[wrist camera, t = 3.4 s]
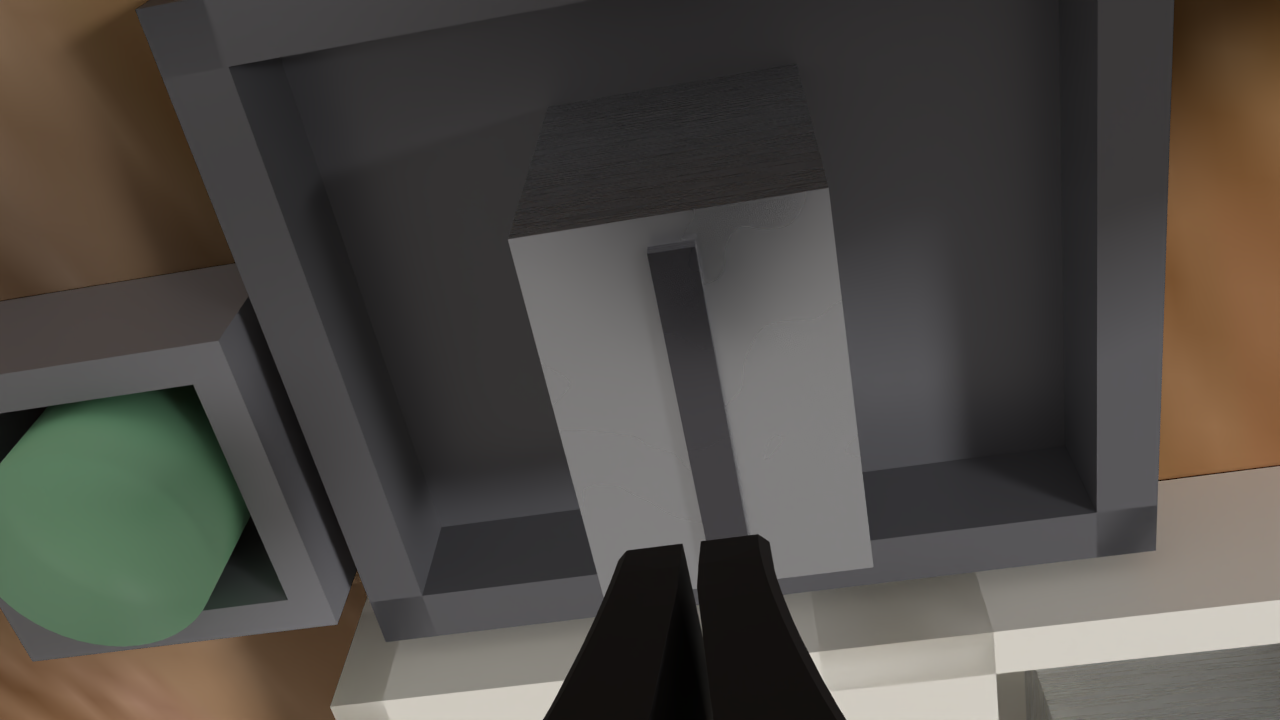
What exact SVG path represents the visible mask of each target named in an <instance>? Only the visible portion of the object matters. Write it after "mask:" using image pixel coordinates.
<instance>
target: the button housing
mask: <svg viewBox="0 0 1280 720" xmlns="http://www.w3.org/2000/svg"><path fill="white" fill-rule="evenodd" d="M187 385H194V388H195V390H196V392H197V394H198V397H199V399H200V401H201V404H202V406H203V408H204V410H205V413H206V415H207V417H208V419H209V422H210V424H211V426H212V429H213V431H214V433H215V435H216V438H217V440H218V442H219V444H220V447H221V449H222V451H223V453H224V456H225V458H226V460H227V463H228V465H229V467H230V469H231V472H232V474H233V476H234V478H235V481H236V483H237V485H238V488H239V490H240V492H241V494H242V497H243V499H244V501H245V503H246V506H247V508H248V510H249V512H250V515H251V516H250V518H249V520H248V522H247V524H246V526H245V528H244V530H243V532H242V534H241V536H240V538H239V540H238V542H237V544H236V546H235V548H234V550H233V552H232V554H231V556H230V558H229V560H228V562H227V564H226V566H225V568H224V570H223V572H222V574H221V576H220V578H219V580H218V582H217V584H216V586H215V588H214V590H213V592H212V594H211V596H210V598H209V600H208V602H207V604H206V605H205V607H204V609H203V611H202V612H201V613H200V615H199V616H198V617H197V618H196V620H194V621H193V622H192V623H191V624H190V625H189V626H188V627H186V628H185V629H183V630H182V631H180V632H179V633H177V634H175V635H173V636H171V637H168V638H166V639H164V640H160V641H157V642H154V643H149V644H144V645H138V646H105V645H97V644H91V643H86V642H82V641H77V640H74V639H71V638H68V637H65V636H62V635H59V634H57V633H54V632H52V631H50V630H47V629H45V628H43V627H42V626H40V625H38V624H36V623H34V622H32V621H31V620H29V619H27V618H26V617H24V616H23V615H21V614H20V613H18V612H17V611H16V610H14V609H13V608H12V607H11V606H9V605H8V604H7V603H6V602H5V601H4V600H3V599H2V598H0V608H1V610H2V611H3V613H4V615H5V616H6V618H7V620H8V621H9V623H10V625H11V626H12V628H13V630H14V631H15V633H16V635H17V636H18V638H19V640H20V641H21V643H22V645H23V646H24V648H25V650H26V651H27V653H28V655H29V656H30V658H31V660H32V661H41V660H49V659H57V658H65V657H74V656H82V655H90V654H98V653H107V652H115V651H123V650H131V649H140V648H148V647H156V646H164V645H173V644H181V643H189V642H197V641H205V640H214V639H222V638H230V637H238V636H247V635H255V634H263V633H271V632H280V631H288V630H296V629H304V628H313V627H321V626H329V625H337V624H338V621H339V619H340V616H341V613H342V610H343V608H344V605H345V602H346V599H347V596H348V594H349V591H350V588H351V585H352V582H353V580H354V577H355V574H356V571H357V568H356V566H355V563H354V561H353V558H352V556H351V553H350V551H349V548H348V545H347V543H346V540H345V538H344V535H343V533H342V530H341V528H340V525H339V523H338V520H337V518H336V515H335V513H334V510H333V508H332V505H331V503H330V500H329V498H328V495H327V493H326V490H325V487H324V485H323V482H322V480H321V477H320V475H319V472H318V470H317V467H316V465H315V462H314V460H313V457H312V455H311V452H310V450H309V447H308V445H307V442H306V440H305V437H304V434H303V432H302V429H301V427H300V424H299V422H298V419H297V417H296V414H295V412H294V409H293V407H292V404H291V402H290V399H289V397H288V394H287V392H286V389H285V387H284V384H283V381H282V379H281V376H280V374H279V371H278V369H277V366H276V364H275V361H274V359H273V356H272V354H271V351H270V349H269V346H268V344H267V341H266V339H265V336H264V334H263V331H262V329H261V326H260V323H259V321H258V318H257V316H256V313H255V311H254V308H253V306H252V303H251V301H250V298H249V296H248V293H247V291H246V288H245V286H244V283H243V281H242V278H241V276H240V273H239V270H238V268H237V265H236V263H234V264H228V265H222V266H216V267H209V268H203V269H197V270H191V271H185V272H179V273H172V274H166V275H160V276H154V277H148V278H142V279H135V280H129V281H123V282H117V283H111V284H105V285H98V286H92V287H86V288H80V289H74V290H68V291H62V292H55V293H49V294H43V295H37V296H31V297H25V298H18V299H12V300H6V301H0V463H1V462H2V460H3V459H4V458H5V457H6V456H7V454H8V453H9V452H10V451H11V450H12V448H13V447H14V446H15V445H16V444H17V443H18V441H19V440H20V439H21V438H22V437H23V435H24V434H25V433H26V432H27V431H28V429H29V428H30V427H31V426H32V425H33V423H34V422H35V421H36V420H37V419H38V417H39V416H40V415H41V414H42V413H43V411H44V410H45V409H46V408H47V407H48V406H53V405H60V404H66V403H73V402H80V401H86V400H93V399H100V398H106V397H113V396H120V395H127V394H133V393H140V392H147V391H153V390H160V389H167V388H173V387H180V386H187Z"/></svg>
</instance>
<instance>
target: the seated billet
mask: <svg viewBox="0 0 1280 720" xmlns="http://www.w3.org/2000/svg"><path fill="white" fill-rule="evenodd" d="M1025 696H1026V720H1280V643H1277V644H1268V645H1259V646H1249V647H1240V648H1231V649H1222V650H1213V651H1203V652H1194V653H1185V654H1176V655H1166V656H1157V657H1148V658H1139V659H1129V660H1120V661H1111V662H1102V663H1093V664H1083V665H1074V666H1065V667H1056V668H1046V669H1037V670H1028V671H1025Z"/></svg>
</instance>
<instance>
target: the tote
mask: <svg viewBox="0 0 1280 720" xmlns="http://www.w3.org/2000/svg"><path fill="white" fill-rule="evenodd" d="M135 11H136V13H137V16H138V18H139V21H140V23H141V26H142V28H143V31H144V33H145V36H146V38H147V41H148V43H149V46H150V48H151V51H152V53H153V56H154V59H155V61H156V64H157V66H158V69H159V71H160V74H161V76H162V79H163V81H164V84H165V86H166V89H167V91H168V94H169V96H170V99H171V101H172V104H173V106H174V109H175V112H176V114H177V117H178V119H179V122H180V124H181V127H182V129H183V132H184V134H185V137H186V139H187V142H188V144H189V147H190V149H191V152H192V154H193V157H194V159H195V162H196V165H197V167H198V170H199V172H200V175H201V177H202V180H203V182H204V185H205V187H206V190H207V192H208V195H209V197H210V200H211V202H212V205H213V207H214V210H215V212H216V215H217V217H218V220H219V223H220V225H221V228H222V230H223V233H224V235H225V238H226V240H227V243H228V245H229V248H230V250H231V253H232V255H233V258H234V260H235V263H236V265H237V268H238V270H239V273H240V276H241V278H242V281H243V283H244V286H245V288H246V291H247V293H248V296H249V298H250V301H251V303H252V306H253V308H254V311H255V313H256V316H257V318H258V321H259V323H260V326H261V329H262V331H263V334H264V336H265V339H266V341H267V344H268V346H269V349H270V351H271V354H272V356H273V359H274V361H275V364H276V366H277V369H278V371H279V374H280V376H281V379H282V381H283V384H284V387H285V389H286V392H287V394H288V397H289V399H290V402H291V404H292V407H293V409H294V412H295V414H296V417H297V419H298V422H299V424H300V427H301V429H302V432H303V434H304V437H305V440H306V442H307V445H308V447H309V450H310V452H311V455H312V457H313V460H314V462H315V465H316V467H317V470H318V472H319V475H320V477H321V480H322V482H323V485H324V487H325V490H326V493H327V495H328V498H329V500H330V503H331V505H332V508H333V510H334V513H335V515H336V518H337V520H338V523H339V525H340V528H341V530H342V533H343V535H344V538H345V540H346V543H347V545H348V548H349V551H350V553H351V556H352V558H353V561H354V563H355V566H356V568H357V571H358V573H359V576H360V578H361V581H362V583H363V586H364V588H365V591H366V593H367V596H368V598H369V601H370V604H371V606H372V609H373V611H374V614H375V616H376V619H377V621H378V624H379V626H380V629H381V631H382V634H383V636H384V639H385V641H386V642H391V641H400V640H408V639H417V638H425V637H433V636H442V635H450V634H459V633H467V632H476V631H484V630H492V629H501V628H509V627H518V626H526V625H534V624H543V623H551V622H560V621H568V620H576V619H585V618H593V617H596V615H597V612H598V610H599V608H600V605H601V603H602V601H603V598H604V597H603V593H602V590H601V586H600V582H599V578H598V575H597V571H596V567H595V563H594V560H593V556H592V552H591V549H590V545H589V541H588V537H587V534H586V530H585V526H584V522H583V519H582V515H581V511H580V507H579V504H578V500H577V496H576V492H575V489H574V485H573V481H572V478H571V474H570V470H569V466H568V463H567V459H566V455H565V451H564V448H563V444H562V440H561V436H560V433H559V429H558V425H557V422H556V418H555V414H554V410H553V407H552V403H551V399H550V395H549V392H548V388H547V384H546V380H545V377H544V373H543V369H542V365H541V362H540V358H539V354H538V351H537V347H536V343H535V339H534V336H533V332H532V328H531V324H530V321H529V317H528V313H527V309H526V306H525V302H524V298H523V294H522V291H521V287H520V283H519V280H518V276H517V272H516V268H515V265H514V261H513V257H512V253H511V250H510V246H509V242H508V237H509V234H510V230H511V227H512V224H513V220H514V217H515V214H516V210H517V207H518V204H519V201H520V197H521V194H522V191H523V187H524V184H525V181H526V177H527V174H528V171H529V167H530V164H531V161H532V158H533V154H534V151H535V148H536V144H537V141H538V138H539V134H540V131H541V128H542V125H543V121H544V118H545V115H546V111H547V108H548V107H550V106H556V105H562V104H567V103H573V102H579V101H585V100H590V99H596V98H602V97H608V96H613V95H619V94H625V93H631V92H636V91H642V90H648V89H654V88H660V87H665V86H671V85H677V84H683V83H688V82H694V81H700V80H706V79H711V78H717V77H723V76H729V75H735V74H740V73H746V72H752V71H758V70H763V69H769V68H775V67H781V66H786V65H792V64H797V66H798V70H799V74H800V78H801V82H802V86H803V90H804V93H805V97H806V101H807V105H808V109H809V113H810V117H811V121H812V125H813V129H814V133H815V136H816V140H817V144H818V148H819V152H820V156H821V160H822V164H823V168H824V172H825V176H826V179H827V183H828V187H829V195H830V203H831V212H832V220H833V229H834V237H835V246H836V254H837V263H838V271H839V279H840V288H841V296H842V305H843V313H844V322H845V330H846V339H847V347H848V356H849V364H850V372H851V381H852V389H853V398H854V406H855V415H856V423H857V432H858V440H859V449H860V457H861V465H862V474H863V482H864V491H865V499H866V508H867V516H868V525H869V533H870V542H871V550H872V558H873V567H872V568H864V569H855V570H847V571H839V572H831V573H822V574H814V575H806V576H797V577H789V578H781V579H777V580H778V583H779V585H780V588H781V591H782V594H783V595H787V594H795V593H804V592H812V591H820V590H829V589H837V588H846V587H854V586H862V585H871V584H879V583H888V582H896V581H904V580H913V579H921V578H930V577H938V576H947V575H955V574H963V573H972V572H980V571H989V570H997V569H1005V568H1014V567H1022V566H1031V565H1039V564H1047V563H1056V562H1064V561H1073V560H1081V559H1090V558H1098V557H1106V556H1115V555H1123V554H1132V553H1140V552H1148V551H1156V534H1157V504H1158V474H1159V444H1160V414H1161V384H1162V353H1163V323H1164V293H1165V263H1166V233H1167V203H1168V173H1169V143H1170V112H1171V82H1172V52H1173V22H1174V0H149V1H147V2H146V3H144V4H143V5H141V6H140V7H138V8H137V9H135ZM693 593H694V598H695V602H696V605H699V600H698V592H697V589H693Z"/></svg>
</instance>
